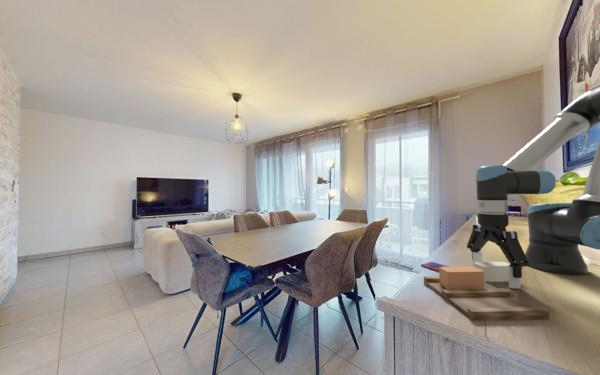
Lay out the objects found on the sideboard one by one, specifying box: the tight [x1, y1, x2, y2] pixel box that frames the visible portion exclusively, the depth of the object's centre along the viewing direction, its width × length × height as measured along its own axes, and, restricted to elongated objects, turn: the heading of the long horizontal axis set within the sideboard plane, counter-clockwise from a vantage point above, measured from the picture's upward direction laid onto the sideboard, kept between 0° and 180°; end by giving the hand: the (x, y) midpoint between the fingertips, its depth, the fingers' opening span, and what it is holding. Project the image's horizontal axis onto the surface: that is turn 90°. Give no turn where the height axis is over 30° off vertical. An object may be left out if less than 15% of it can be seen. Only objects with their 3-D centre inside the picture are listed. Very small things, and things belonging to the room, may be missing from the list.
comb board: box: [423, 275, 551, 322], centre depth 59 cm, size 17×20×2 cm
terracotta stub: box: [438, 266, 484, 289], centre depth 64 cm, size 10×4×5 cm, turn 88°
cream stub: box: [474, 261, 510, 283], centre depth 71 cm, size 10×4×5 cm, turn 89°
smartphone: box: [420, 261, 450, 273], centre depth 79 cm, size 7×15×1 cm, turn 25°
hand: (494, 278), depth 71 cm, fingers open, 13 cm apart
